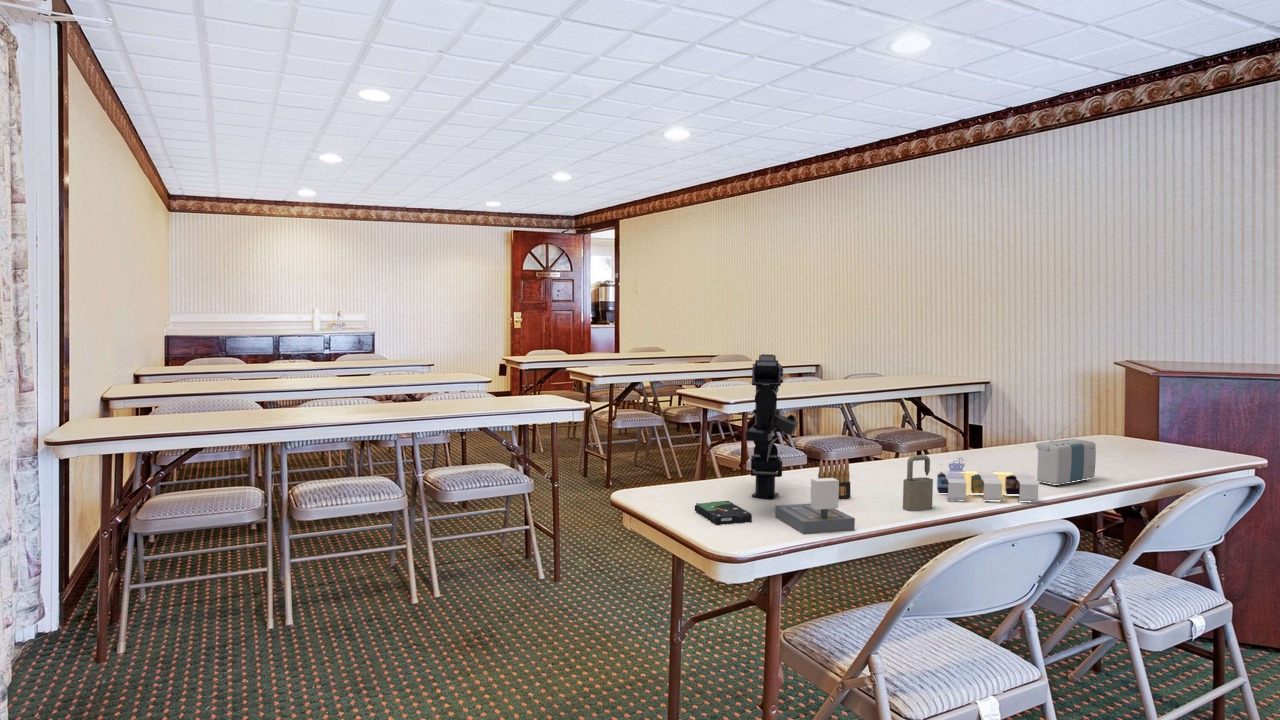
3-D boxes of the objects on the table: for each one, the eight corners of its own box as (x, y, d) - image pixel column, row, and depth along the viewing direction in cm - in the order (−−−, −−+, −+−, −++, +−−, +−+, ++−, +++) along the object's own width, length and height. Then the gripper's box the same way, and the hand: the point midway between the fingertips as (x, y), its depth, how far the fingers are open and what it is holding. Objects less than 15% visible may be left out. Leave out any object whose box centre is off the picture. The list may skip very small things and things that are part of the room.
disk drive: (752, 524, 191) (728, 509, 205) (753, 513, 191) (728, 499, 205) (716, 527, 188) (693, 512, 202) (716, 517, 188) (693, 502, 202)
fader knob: (810, 515, 186) (811, 478, 185) (832, 513, 187) (832, 477, 187) (816, 518, 183) (816, 481, 182) (838, 516, 184) (838, 480, 184)
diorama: (947, 503, 214) (949, 458, 213) (936, 494, 224) (937, 451, 224) (1037, 505, 212) (1039, 460, 211) (1021, 496, 222) (1023, 453, 222)
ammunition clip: (846, 497, 219) (847, 457, 218) (850, 498, 217) (851, 458, 216) (816, 500, 215) (816, 459, 214) (819, 501, 213) (820, 460, 212)
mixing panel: (775, 516, 196) (775, 505, 196) (822, 513, 200) (823, 502, 200) (803, 533, 181) (803, 521, 181) (854, 530, 185) (854, 517, 184)
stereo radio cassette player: (1057, 488, 233) (1059, 425, 231) (1032, 483, 240) (1034, 421, 239) (1096, 481, 243) (1098, 421, 242) (1071, 476, 250) (1073, 417, 249)
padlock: (934, 509, 206) (935, 455, 205) (910, 511, 203) (912, 457, 202) (924, 505, 209) (925, 453, 209) (900, 508, 206) (902, 454, 206)
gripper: (786, 411, 191) (785, 471, 192) (803, 404, 208) (802, 459, 208) (744, 408, 196) (744, 467, 196) (764, 401, 212) (763, 456, 213)
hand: (765, 462), depth 203 cm, fingers closed
